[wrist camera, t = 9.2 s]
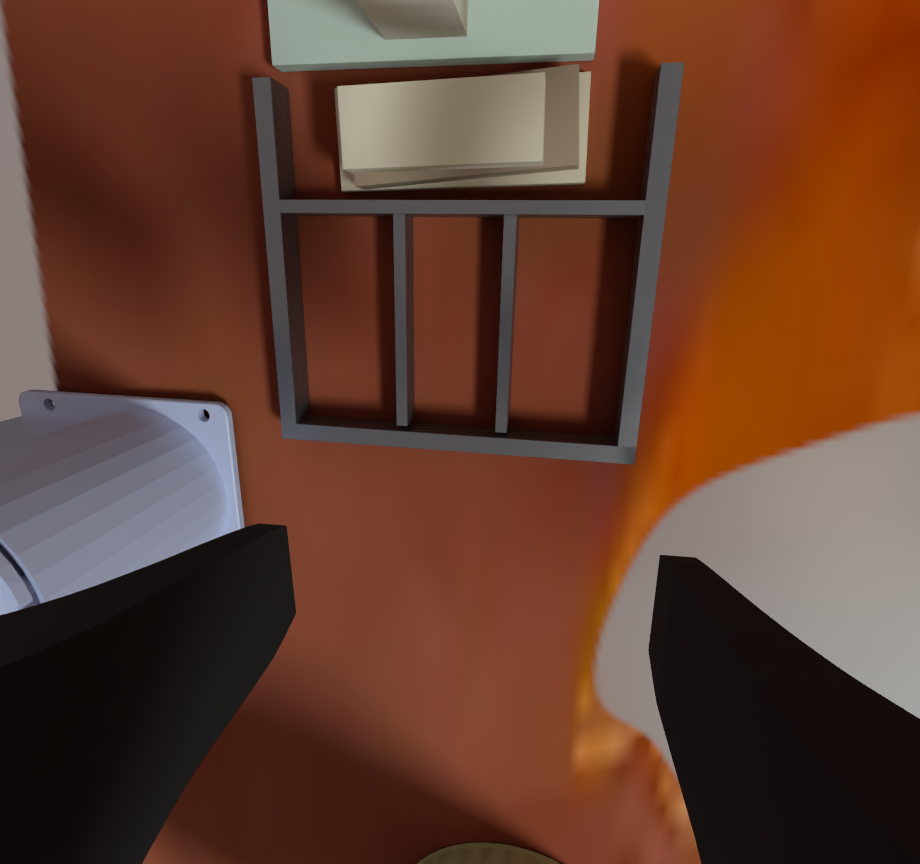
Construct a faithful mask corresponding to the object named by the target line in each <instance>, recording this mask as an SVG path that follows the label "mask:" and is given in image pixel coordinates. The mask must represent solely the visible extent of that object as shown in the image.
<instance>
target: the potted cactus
mask: <svg viewBox="0 0 920 864" xmlns="http://www.w3.org/2000/svg"><path fill="white" fill-rule="evenodd" d="M417 864H560V863H559V862H557V861H555V860H553V859H551V858H549V857H546V856H544V855H541V854H539V853H536V852H534V851H531V850H527V849H524V848H520V847H516V846H512V845H506V844H498V843H486V842H481V843H464V844H459V845H454V846H449V847H446V848H443V849H440V850H438V851H435V852H433V853H431V854H429V855H428V856H426V857H425V858H423V859H422V860H420V861H419V862H418V863H417Z"/></svg>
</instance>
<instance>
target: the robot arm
mask: <svg viewBox="0 0 920 864" xmlns="http://www.w3.org/2000/svg"><path fill="white" fill-rule="evenodd" d="M52 401H53V402H54V404H55V406H54V405H53V403H52ZM19 404H20V408H21V413H22V416H21V417H17V418H14V419H10V420H6V421H3V422H0V864H142V863H143V861H144V859H145V857H146V855H147V853H148V851H149V850H150V848H151V846H152V844H153V842H154V841H155V839H156V837H157V835H158V834H159V832H160V830H161V828H162V827H163V825H164V823H165V821H166V820H167V818H168V816H169V814H170V813H171V811H172V809H173V807H174V806H175V804H176V802H177V800H178V799H179V797H180V795H181V793H182V792H183V790H184V788H185V786H186V785H187V783H188V782H189V780H190V779H191V777H192V776H193V774H194V772H195V771H196V769H197V768H198V766H199V765H200V763H201V762H202V760H203V759H204V757H205V756H206V754H207V753H208V752H209V750H210V749H211V747H212V746H213V744H214V743H215V742H216V740H217V739H218V737H219V736H220V734H221V733H222V732H223V730H224V729H225V727H226V726H227V724H228V723H229V722H230V720H231V719H232V717H233V716H234V714H235V713H236V712H237V710H238V709H239V707H240V706H241V704H242V703H243V702H244V700H245V699H246V697H247V696H248V694H249V693H250V692H251V690H252V689H253V687H254V686H255V684H256V683H257V681H258V680H259V678H260V677H261V675H262V674H263V673H264V671H265V670H266V668H267V667H268V665H269V664H270V662H271V661H272V659H273V658H274V656H275V654H276V652H277V650H278V648H279V646H280V644H281V643H282V641H283V639H284V637H285V635H286V633H287V631H288V629H289V627H290V625H291V622H292V620H293V618H294V616H295V614H296V608H295V599H294V590H293V581H292V572H291V563H290V554H289V545H288V536H287V527H286V526H283V525H270V524H255V525H252V526H248V527H244V518H243V509H242V501H241V492H240V483H239V474H238V465H237V456H236V447H235V438H234V430H233V421H232V414H231V410H230V409H229V407H228V406H227V405H226V404H224V403H222V402H217V401H201V400H185V399H170V398H154V397H139V396H123V395H108V394H92V393H77V392H61V391H45V390H29V391H25V392H22V393H21V394H20V397H19ZM204 409H205V410H207V411H208V412H209V415H210V417H209V419H208V418H207V417H206V416H205V415H204ZM649 657H650V663H651V670H652V677H653V684H654V690H655V696H656V701H657V706H658V710H659V713H660V717H661V721H662V724H663V728H664V731H665V735H666V738H667V742H668V745H669V749H670V752H671V756H672V759H673V763H674V766H675V770H676V773H677V777H678V780H679V784H680V787H681V791H682V794H683V798H684V801H685V804H686V808H687V811H688V815H689V818H690V822H691V825H692V829H693V832H694V836H695V839H696V843H697V847H698V851H699V856H700V860H701V864H920V719H919V718H917V717H916V716H914V715H912V714H911V713H909V712H907V711H906V710H904V709H903V708H901V707H899V706H898V705H896V704H894V703H893V702H891V701H890V700H888V699H886V698H885V697H883V696H882V695H880V694H878V693H877V692H875V691H874V690H872V689H870V688H869V687H867V686H866V685H864V684H862V683H861V682H859V681H858V680H856V679H855V678H853V677H852V676H850V675H849V674H847V673H846V672H844V671H843V670H841V669H840V668H838V667H837V666H835V665H834V664H833V663H831V662H830V661H828V660H827V659H825V658H824V657H823V656H822V655H820V654H819V653H817V652H816V651H814V650H813V649H812V648H810V647H809V646H807V645H806V644H805V643H803V642H802V641H801V640H799V639H798V638H797V637H795V636H794V635H793V634H791V633H790V632H789V631H787V630H786V629H785V628H783V627H782V626H781V625H779V624H778V623H777V622H776V621H774V620H773V619H772V618H770V617H769V616H768V615H767V614H765V613H764V612H763V611H762V610H760V609H759V608H758V607H757V606H755V605H754V604H753V603H752V602H750V601H749V600H748V599H747V598H745V597H744V596H743V595H742V594H741V593H739V592H738V591H737V590H736V589H734V588H733V587H732V586H731V585H730V584H729V583H727V582H726V581H725V580H724V579H723V578H721V577H720V576H719V575H718V574H716V573H715V572H714V571H713V570H711V569H710V568H709V567H708V566H707V565H705V564H704V563H702V562H701V561H700V560H698V559H697V558H693V557H680V556H667V555H660V560H659V568H658V576H657V585H656V592H655V601H654V609H653V619H652V626H651V634H650V642H649Z"/></svg>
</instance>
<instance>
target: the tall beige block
mask: <svg viewBox="0 0 920 864" xmlns="http://www.w3.org/2000/svg"><path fill="white" fill-rule="evenodd" d="M356 1H357V2H358V4H359V5H360V6H361V8H362V9H363V10H364V12H365V13H366V14H367V16H368V17H369V18H370V20H371V21H372V22H373V24H374V25H375V26H376V28H377V29H378V30H379V32H380V33H381V34H382V36H383V37H384V38H385V40H399V39H421V38H443V37H465V36H467V18H468V0H356Z"/></svg>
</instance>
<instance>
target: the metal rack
mask: <svg viewBox="0 0 920 864" xmlns="http://www.w3.org/2000/svg"><path fill="white" fill-rule="evenodd" d="M683 68H684V62H683V63H661V65H660V67H659V69H658V71H657V72H656V74H655V76H654V80H653V89H652V98H651V107H650V116H649V126H648V135H647V144H646V153H645V162H644V171H643V180H642V189H641V198H640V200H296V197H295V183H294V168H293V153H292V138H291V123H290V108H289V93H288V89H287V88H286V87H284V86H283V85H281V84H280V83H278V82H277V81H275V80H274V79H272V78H271V77H259V78H252V82H253V94H254V106H255V118H256V130H257V141H258V153H259V165H260V177H261V189H262V201H263V213H264V224H265V236H266V248H267V260H268V272H269V284H270V295H271V307H272V319H273V331H274V343H275V355H276V367H277V378H278V390H279V402H280V414H281V426H282V438H285V439H299V440H312V441H326V442H339V443H353V444H366V445H380V446H393V447H407V448H420V449H434V450H447V451H461V452H474V453H488V454H501V455H515V456H528V457H542V458H555V459H569V460H582V461H596V462H609V463H623V464H634V462H635V454H636V446H637V438H638V429H639V421H640V413H641V405H642V397H643V389H644V381H645V373H646V365H647V357H648V349H649V341H650V333H651V325H652V317H653V309H654V301H655V293H656V285H657V277H658V269H659V261H660V253H661V245H662V237H663V229H664V221H665V212H666V204H667V196H668V188H669V180H670V172H671V164H672V156H673V148H674V140H675V132H676V124H677V116H678V108H679V100H680V92H681V84H682V76H683ZM297 216H382V217H393V238H394V296H395V355H396V413H397V421H384V420H369V419H354V418H339V417H324V416H310V406H309V391H308V376H307V361H306V346H305V331H304V316H303V301H302V287H301V272H300V257H299V242H298V227H297ZM413 217H504V230H503V254H502V279H501V304H500V328H499V353H498V378H497V402H496V427H495V428H489V427H474V426H459V425H444V424H429V423H414V422H412V421H413V419H414V322H413ZM519 217H530V218H638V225H637V234H636V243H635V252H634V261H633V270H632V279H631V288H630V297H629V306H628V315H627V324H626V333H625V343H624V352H623V361H622V370H621V379H620V388H619V397H618V406H617V415H616V424H615V433H614V436H609V435H594V434H579V433H564V432H549V431H534V430H519V429H508V426H509V411H510V391H511V370H512V349H513V329H514V308H515V287H516V267H517V246H518V225H519Z"/></svg>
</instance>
